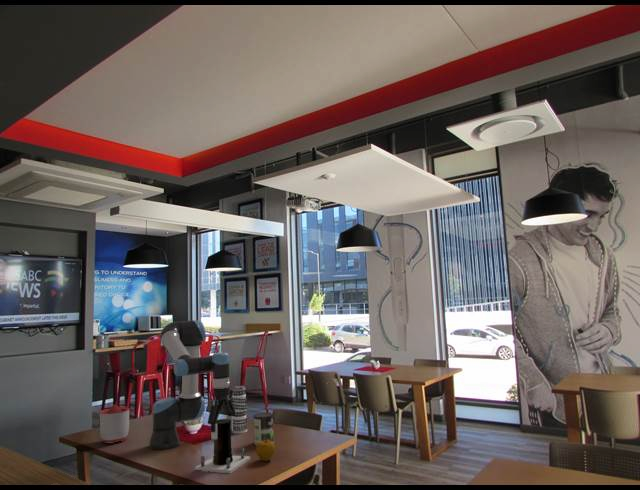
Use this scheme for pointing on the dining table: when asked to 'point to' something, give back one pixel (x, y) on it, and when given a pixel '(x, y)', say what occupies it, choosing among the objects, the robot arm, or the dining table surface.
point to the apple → (265, 450)
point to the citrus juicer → (114, 424)
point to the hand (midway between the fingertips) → (222, 434)
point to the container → (222, 442)
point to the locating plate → (226, 468)
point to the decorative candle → (239, 409)
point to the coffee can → (263, 427)
